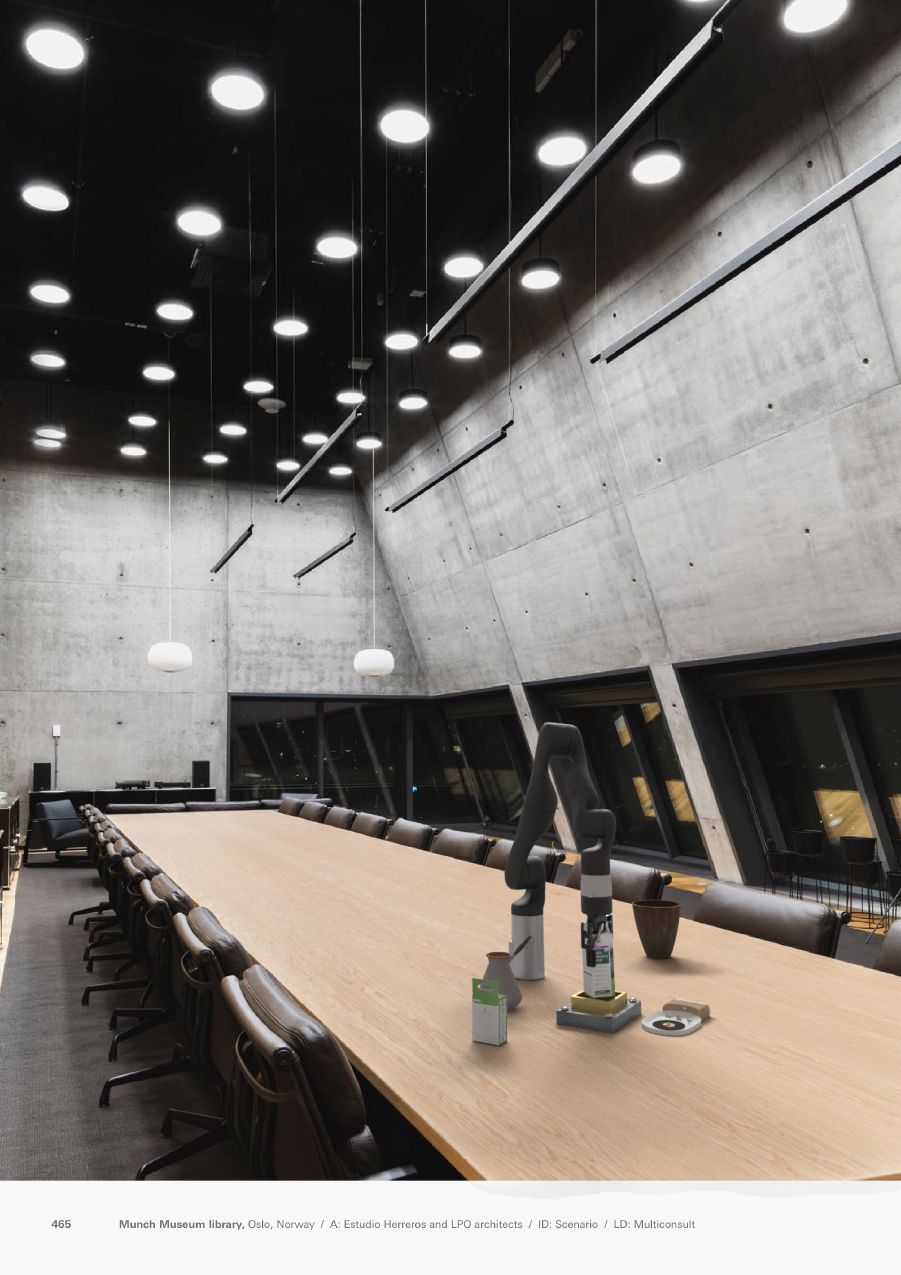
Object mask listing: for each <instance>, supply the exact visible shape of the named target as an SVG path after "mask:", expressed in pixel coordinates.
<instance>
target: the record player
mask: <svg viewBox="0 0 901 1275" xmlns="http://www.w3.org/2000/svg"><path fill="white" fill-rule="evenodd" d="M710 1015H711V1007H710V1005H709V1004H708V1003H705V1002H698V1001H695V1000H694V1001H693V1000H687V999H681V998H674V999H672V1000H670V1001H668V1002H666V1003H665V1004H664V1005H663V1006H662V1010H659V1011H655V1012H652V1013H650V1014H649V1015H647V1016H645V1017H644V1018H642V1019H641V1028H642V1029H643V1030H644V1031H647V1032H649V1033H652V1034H655V1035H664V1036H685V1035H688V1034H691V1033H693V1032H695V1031H696V1030H697V1029H699V1028H700V1027H701V1026H702V1022H703V1021H705V1020H706V1019H707V1018H708V1017H710Z"/></svg>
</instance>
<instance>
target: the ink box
mask: <svg viewBox="0 0 901 1275" xmlns="http://www.w3.org/2000/svg"><path fill="white" fill-rule="evenodd" d="M480 984H487V985H490V986H492V987H493V990H487V989H480V988H479V986H480ZM471 985H472V986H471V988H472V995H471V1022H472V1023H471V1028H472V1029H471V1036H472V1037H471V1038H472V1039H471V1040H472V1041H474V1042H479V1043H484V1044H489V1045H493V1046H494V1045H495V1046H501V1045H503V1044H506V1043H507V1042H508V1012H507V995H501V994H499V982H498V981H491V980H483V978H475V977H472V978H471Z"/></svg>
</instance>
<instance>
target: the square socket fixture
mask: <svg viewBox="0 0 901 1275" xmlns="http://www.w3.org/2000/svg"><path fill="white" fill-rule="evenodd" d="M555 1013H556V1014H555V1015H556V1025H561V1026H566V1027H571V1028H572V1027H574V1028H579V1029H584V1030H589V1031H590V1030H591V1031H597V1032H600V1033H602V1032H603V1033H608V1034H613V1035H614V1034H615V1033H616V1032H618V1031H619V1030H620V1029H622V1028H623V1027H624V1026H626V1025H627V1024H629V1023H630V1022H631V1021H633V1020H635V1019H637V1017H639V1016H640V1015H641V1014H642V1001H641V1000H639V999H637V998H636V997H629V998H628V992H626V991H619V990H615V996H609V997H597V998H592V997H591V996H589V995H587V994H586V993H585V992H584V988H583V989H581V990H580V991H578V992H575V993H574V994H573V995H570V1002H568V1003H567V1004H565V1005H563V1006H560V1008H558V1009H556V1010H555Z"/></svg>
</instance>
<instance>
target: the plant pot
mask: <svg viewBox="0 0 901 1275" xmlns="http://www.w3.org/2000/svg"><path fill="white" fill-rule="evenodd" d="M631 904H632V911H633V917H634V921H635V925H636V929H637V933H638V937H639V940H640V943H641V945H642V946H641V947H642V948H643V950H644V953H645V956H646V957H647V958H650V959H657V960H658V959H659V960H660V959H661V960H663V959H670V958H671V957H672V953H673V951H674V948H675V943H676V940H677V934H678V930H679V924H680V918H681V907H682V904H681V903H680V902H677V901H672V900H664V899H663V900H662V899H642V900H635V901H632V902H631Z"/></svg>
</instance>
